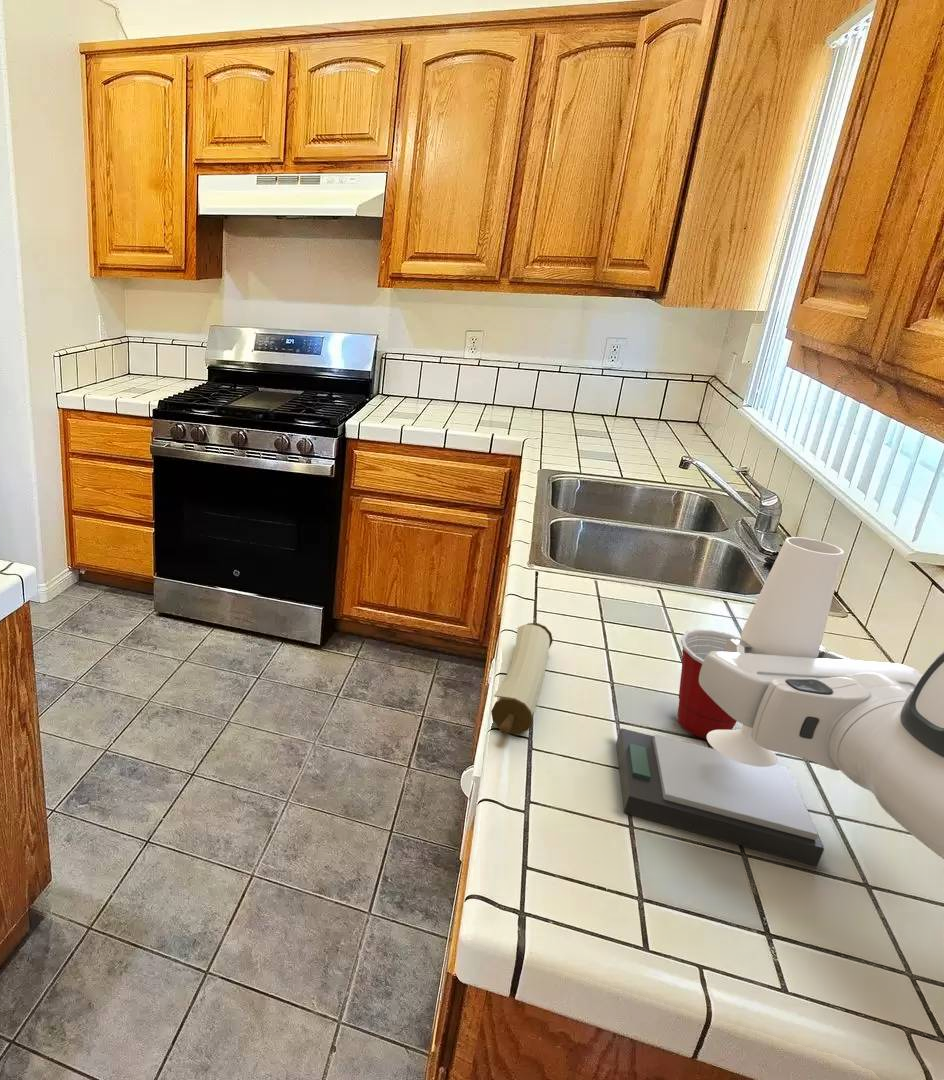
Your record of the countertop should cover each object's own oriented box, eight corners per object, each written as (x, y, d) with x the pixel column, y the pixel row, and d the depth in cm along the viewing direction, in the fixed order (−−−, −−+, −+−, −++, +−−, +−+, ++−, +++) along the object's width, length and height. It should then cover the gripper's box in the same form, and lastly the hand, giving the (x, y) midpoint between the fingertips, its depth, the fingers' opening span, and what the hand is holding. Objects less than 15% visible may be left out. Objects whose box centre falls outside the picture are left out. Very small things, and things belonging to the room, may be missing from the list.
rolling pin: (523, 755, 92) (531, 721, 91) (477, 740, 95) (484, 707, 93) (554, 646, 119) (561, 618, 117) (517, 637, 121) (523, 609, 120)
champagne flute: (696, 725, 87) (761, 530, 78) (760, 734, 86) (833, 537, 77) (721, 761, 80) (794, 553, 72) (790, 771, 79) (872, 562, 71)
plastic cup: (702, 759, 94) (730, 675, 89) (639, 709, 103) (661, 632, 99) (772, 749, 96) (803, 668, 92) (704, 702, 106) (729, 626, 101)
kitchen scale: (782, 785, 89) (791, 763, 88) (817, 867, 77) (827, 842, 76) (616, 743, 96) (622, 722, 95) (623, 813, 84) (630, 789, 82)
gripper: (1003, 703, 65) (881, 628, 78) (762, 686, 66) (681, 615, 79) (973, 763, 67) (860, 680, 80) (741, 746, 68) (665, 667, 81)
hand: (770, 648), depth 80 cm, fingers closed on champagne flute, 6 cm apart
